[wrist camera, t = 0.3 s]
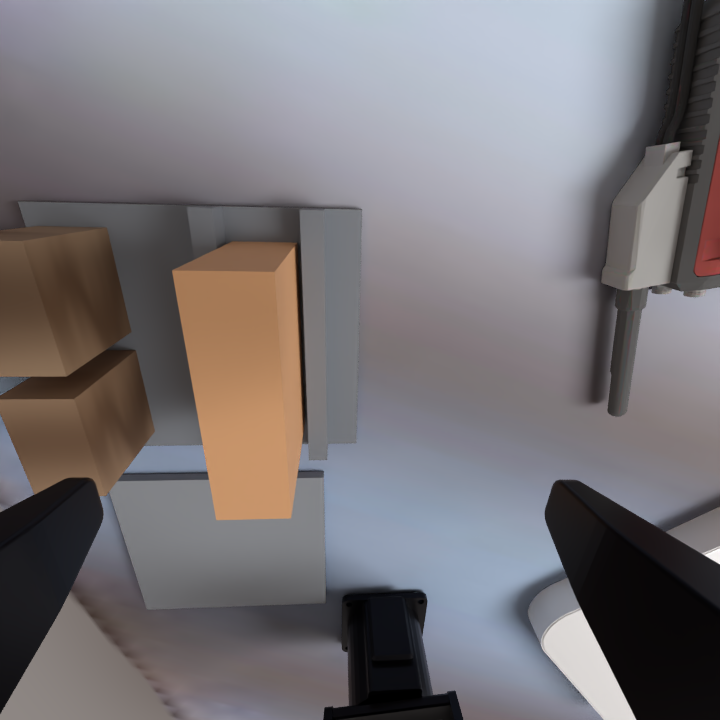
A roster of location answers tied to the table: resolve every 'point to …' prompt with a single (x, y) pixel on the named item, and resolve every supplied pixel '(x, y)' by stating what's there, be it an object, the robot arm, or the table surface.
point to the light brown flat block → (246, 373)
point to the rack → (161, 312)
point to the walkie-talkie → (670, 196)
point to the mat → (220, 545)
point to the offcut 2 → (80, 421)
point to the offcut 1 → (57, 299)
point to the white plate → (576, 640)
